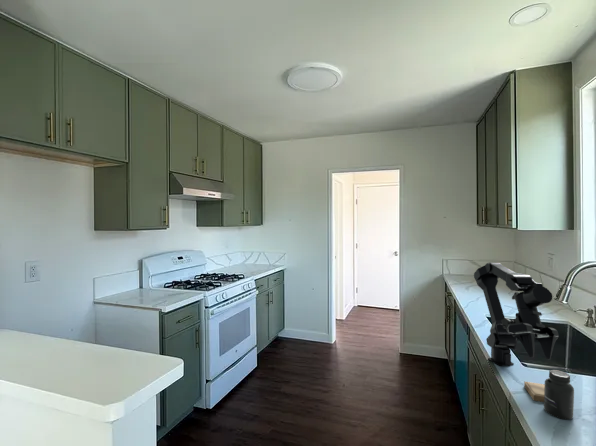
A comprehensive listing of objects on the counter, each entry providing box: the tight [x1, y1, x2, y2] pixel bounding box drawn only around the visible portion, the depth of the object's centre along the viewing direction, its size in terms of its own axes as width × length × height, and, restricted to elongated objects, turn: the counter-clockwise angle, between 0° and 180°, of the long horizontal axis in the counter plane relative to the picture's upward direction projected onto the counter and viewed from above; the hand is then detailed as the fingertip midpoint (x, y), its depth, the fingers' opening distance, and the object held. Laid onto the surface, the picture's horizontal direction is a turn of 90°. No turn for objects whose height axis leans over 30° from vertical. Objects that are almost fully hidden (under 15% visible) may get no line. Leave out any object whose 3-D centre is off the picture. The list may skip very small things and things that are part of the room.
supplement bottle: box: [543, 369, 575, 421], centre depth 95 cm, size 7×7×12 cm
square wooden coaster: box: [523, 381, 545, 403], centre depth 105 cm, size 9×9×2 cm
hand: (540, 358), depth 106 cm, fingers open, 9 cm apart
